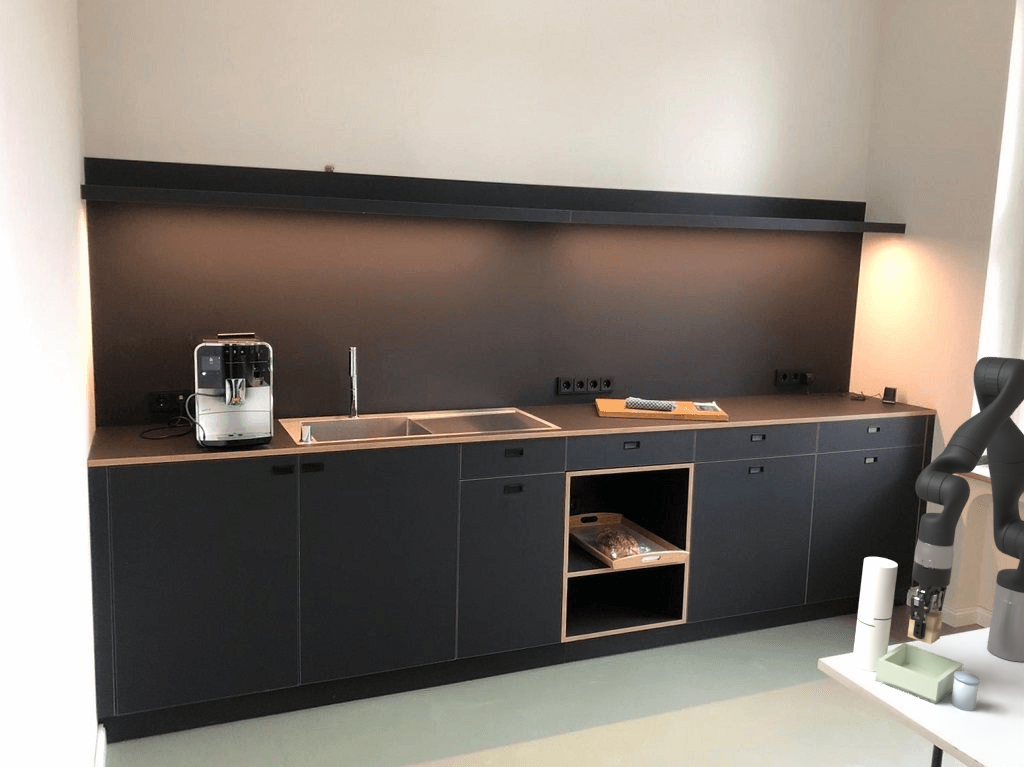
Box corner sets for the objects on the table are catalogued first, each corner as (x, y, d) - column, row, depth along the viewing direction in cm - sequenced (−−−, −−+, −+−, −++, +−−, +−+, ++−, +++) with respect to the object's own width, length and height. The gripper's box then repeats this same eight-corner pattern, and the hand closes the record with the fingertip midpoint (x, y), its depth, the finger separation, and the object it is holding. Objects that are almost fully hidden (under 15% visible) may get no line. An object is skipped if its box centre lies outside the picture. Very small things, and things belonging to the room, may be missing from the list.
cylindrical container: (888, 673, 195) (901, 569, 191) (855, 669, 196) (867, 565, 192) (881, 659, 202) (893, 558, 198) (849, 655, 203) (861, 555, 199)
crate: (901, 662, 201) (904, 642, 200) (960, 684, 191) (962, 663, 191) (875, 680, 191) (877, 659, 190) (935, 704, 182) (938, 682, 181)
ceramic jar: (955, 697, 185) (959, 669, 184) (979, 706, 182) (983, 677, 181) (946, 704, 182) (950, 675, 181) (970, 713, 179) (974, 684, 178)
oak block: (916, 630, 193) (919, 605, 192) (939, 638, 190) (943, 612, 189) (907, 636, 190) (910, 610, 189) (930, 644, 186) (934, 618, 185)
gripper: (928, 550, 195) (919, 620, 197) (902, 562, 185) (892, 636, 188) (963, 559, 189) (953, 631, 192) (937, 573, 180) (928, 649, 182)
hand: (923, 633), depth 190 cm, fingers closed on oak block, 5 cm apart
